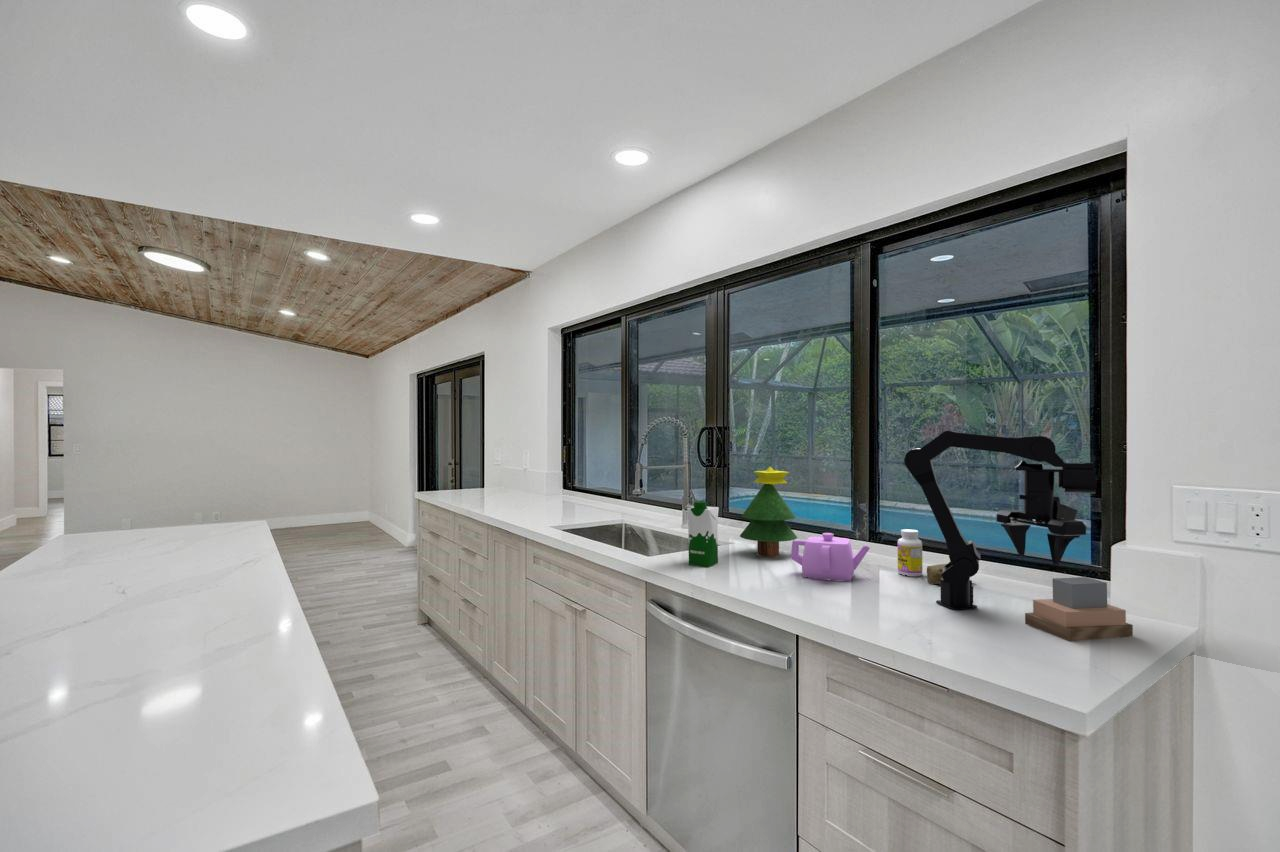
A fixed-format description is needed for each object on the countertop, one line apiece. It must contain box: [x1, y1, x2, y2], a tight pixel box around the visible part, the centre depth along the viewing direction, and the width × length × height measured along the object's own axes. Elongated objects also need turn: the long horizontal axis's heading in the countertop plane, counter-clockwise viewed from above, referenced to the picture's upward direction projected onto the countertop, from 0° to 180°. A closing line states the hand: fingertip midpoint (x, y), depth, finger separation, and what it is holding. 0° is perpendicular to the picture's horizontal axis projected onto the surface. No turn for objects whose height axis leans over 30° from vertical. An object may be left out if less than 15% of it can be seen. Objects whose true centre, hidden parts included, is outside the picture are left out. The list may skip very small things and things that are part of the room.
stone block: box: [926, 563, 971, 586], centre depth 166 cm, size 6×12×5 cm, turn 114°
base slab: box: [1024, 612, 1134, 642], centre depth 126 cm, size 15×11×3 cm
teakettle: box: [790, 532, 871, 582], centre depth 175 cm, size 17×17×12 cm
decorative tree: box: [739, 466, 798, 558], centre depth 204 cm, size 19×19×30 cm
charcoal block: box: [1051, 576, 1108, 609], centre depth 126 cm, size 8×5×5 cm, turn 97°
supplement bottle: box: [897, 528, 923, 577], centre depth 175 cm, size 7×7×13 cm
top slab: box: [1032, 598, 1127, 627], centre depth 126 cm, size 13×9×3 cm
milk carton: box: [686, 500, 720, 568], centre depth 191 cm, size 9×9×20 cm
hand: (1038, 559), depth 136 cm, fingers open, 9 cm apart
